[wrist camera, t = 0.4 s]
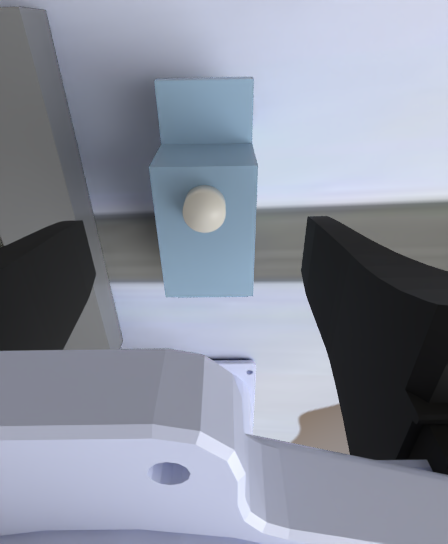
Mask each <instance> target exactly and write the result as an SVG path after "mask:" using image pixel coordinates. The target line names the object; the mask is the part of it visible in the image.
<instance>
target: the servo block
mask: <svg viewBox="0 0 448 544" xmlns="http://www.w3.org/2000/svg"><path fill="white" fill-rule="evenodd" d="M154 84H155V93H156V102H157V111H158V121H159V130H160V139H161V146H160V148H159V149H158V151H157V153H156V155H155V157H154V159H153V160H152V162H151V164H150V166H149V174H150V182H151V189H152V197H153V204H154V212H155V219H156V227H157V235H158V242H159V250H160V257H161V265H162V272H163V280H164V288H165V295H166V297H178V298H183V297H248V296H253V282H254V255H255V229H256V202H257V176H258V164H257V160H256V157H255V153H254V149H253V145H252V124H253V88H254V79H253V77H218V78H159V79H156V80H154Z"/></svg>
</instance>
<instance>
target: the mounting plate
mask: <svg viewBox="0 0 448 544" xmlns="http://www.w3.org/2000/svg"><path fill="white" fill-rule="evenodd" d="M76 220H83V223H84V227H85V231H86V235H87V239H88V243H89V247H90V251H91V255H92V259H93V263H94V267H95V271H96V277H95V280H94V284H93V287H92V290H91V293H90V297H89V299H88V301H87V303H86V305H85V307H84V309H83V311H82V313H81V316H80V318H79V319H78V321H77V323H76V325H75V327H74V329H73V331H72V333H71V335H70V337H69V339H68V341H67V343H66V345H65V347H64V349H63V350H99V349H120V348H121V345H122V342H123V338H122V334H121V330H120V326H119V321H118V317H117V313H116V309H115V304H114V300H113V296H112V291H111V287H110V283H109V279H108V274H107V270H106V266H105V262H104V257H103V253H102V249H101V244H100V240H99V236H98V232H97V227H96V223H95V219H94V215H93V210H92V206H91V202H90V198H89V193H88V189H87V185H86V180H85V176H84V172H83V168H82V163H81V159H80V155H79V151H78V146H77V142H76V138H75V133H74V129H73V125H72V121H71V116H70V112H69V108H68V104H67V99H66V95H65V91H64V87H63V82H62V78H61V74H60V69H59V65H58V61H57V57H56V52H55V48H54V44H53V40H52V35H51V31H50V27H49V23H48V18H47V14H46V10H40V9H33V8H25V7H0V237H1V239H2V242H3V244H4V246H6V245H8V244H10V243H12V242H15V241H17V240H19V239H21V238H23V237H25V236H27V235H30V234H32V233H34V232H36V231H38V230H40V229H43V228H45V227H47V226H50V225H52V224H55V223H57V222H61V221H76Z"/></svg>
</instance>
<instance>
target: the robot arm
mask: <svg viewBox="0 0 448 544" xmlns="http://www.w3.org/2000/svg"><path fill="white" fill-rule="evenodd" d="M301 272H302V277H303V283H304V287H305V292H306V296H307V299H308V302H309V304H310V307H311V310H312V313H313V315H314V318H315V321H316V323H317V326H318V329H319V331H320V334H321V337H322V339H323V342H324V345H325V347H326V350H327V353H328V357H329V360H330V364H331V368H332V372H333V376H334V380H335V385H336V389H337V393H338V398H339V403H340V407H341V412H342V416H343V421H344V426H345V431H346V436H347V441H348V446H349V452H350V455H348V454H343V453H338V452H333V451H328V450H323V449H319V448H314V447H309V446H304V445H299V444H294V443H289V442H284V441H279V440H275V439H270V438H265V437H260V436H255V435H253V420H254V400H255V380H256V363H255V362H254V361H252V360H218V361H213V360H211V359H210V358H208V357H207V356H205V355H202V354H196V353H191V352H185V351H179V350H174V349H99V350H63V349H64V347H65V345H66V343H67V341H68V339H69V337H70V335H71V333H72V331H73V329H74V327H75V325H76V323H77V321H78V319H79V318H80V316H81V313H82V311H83V309H84V307H85V305H86V303H87V301H88V299H89V297H90V293H91V290H92V287H93V284H94V280H95V277H96V271H95V267H94V263H93V259H92V255H91V251H90V247H89V243H88V239H87V235H86V231H85V227H84V223H83V220H76V221H61V222H57V223H55V224H52V225H50V226H47V227H45V228H43V229H40V230H38V231H36V232H34V233H32V234H30V235H27V236H25V237H23V238H21V239H19V240H17V241H15V242H12V243H10V244H8V245H6V246H3V247H1V248H0V544H448V271H444V270H441V269H438V268H435V267H432V266H429V265H426V264H423V263H421V262H418V261H415V260H413V259H410V258H408V257H405V256H403V255H401V254H398V253H396V252H394V251H392V250H390V249H388V248H386V247H384V246H382V245H380V244H378V243H376V242H374V241H372V240H370V239H368V238H366V237H365V236H363V235H361V234H359V233H358V232H356V231H354V230H352V229H351V228H349V227H347V226H345V225H344V224H342V223H340V222H338V221H336V220H335V219H333V218H330V217H328V216H313V217H308V218H307V227H306V235H305V243H304V252H303V260H302V268H301ZM248 370H251V371H248Z"/></svg>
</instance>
